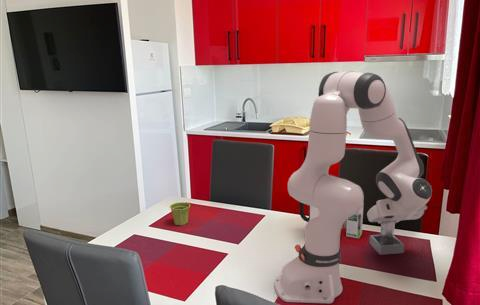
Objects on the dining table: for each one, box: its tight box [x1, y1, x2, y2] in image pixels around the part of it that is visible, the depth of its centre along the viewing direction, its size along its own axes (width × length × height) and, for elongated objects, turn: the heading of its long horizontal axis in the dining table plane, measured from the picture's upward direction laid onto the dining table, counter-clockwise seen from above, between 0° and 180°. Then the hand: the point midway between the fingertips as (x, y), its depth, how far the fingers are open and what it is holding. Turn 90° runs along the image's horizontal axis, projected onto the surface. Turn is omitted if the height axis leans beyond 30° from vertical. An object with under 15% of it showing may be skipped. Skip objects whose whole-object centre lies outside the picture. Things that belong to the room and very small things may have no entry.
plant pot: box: [169, 201, 191, 226], centre depth 178 cm, size 9×9×9 cm
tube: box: [379, 221, 396, 245], centre depth 150 cm, size 5×5×14 cm
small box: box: [341, 219, 347, 230], centre depth 171 cm, size 5×4×8 cm
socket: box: [368, 234, 406, 256], centre depth 151 cm, size 10×10×4 cm
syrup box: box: [345, 202, 364, 239], centre depth 162 cm, size 6×6×14 cm
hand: (387, 221), depth 149 cm, fingers open, 5 cm apart
